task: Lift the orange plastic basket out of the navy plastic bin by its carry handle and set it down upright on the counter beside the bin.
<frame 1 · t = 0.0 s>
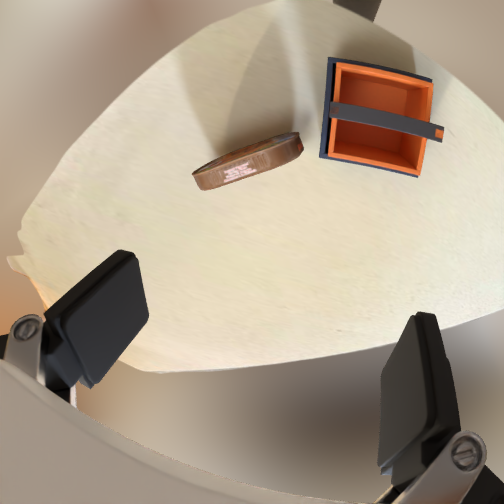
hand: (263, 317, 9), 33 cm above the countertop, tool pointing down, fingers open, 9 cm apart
basket: (371, 114, 32), resting on bin outer
tin: (256, 154, 40), on the countertop
bin outer: (370, 114, 33), on the countertop
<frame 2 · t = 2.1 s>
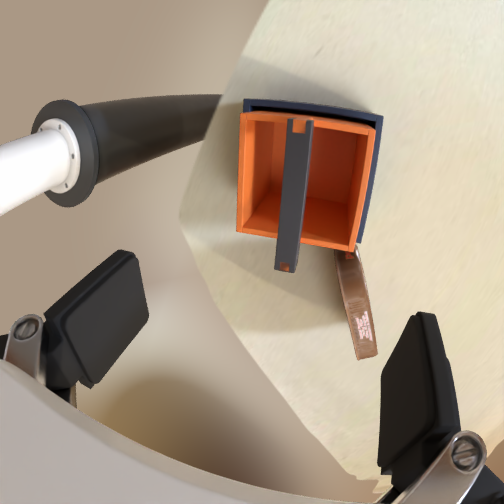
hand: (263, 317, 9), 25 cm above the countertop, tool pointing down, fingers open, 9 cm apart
basket: (312, 157, 30), resting on bin outer
tin: (358, 284, 36), on the countertop
bin outer: (313, 156, 30), on the countertop
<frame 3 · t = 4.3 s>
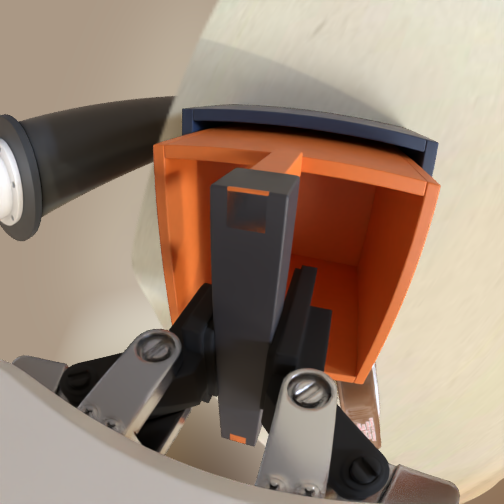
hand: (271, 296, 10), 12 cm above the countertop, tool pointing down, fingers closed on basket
basket: (308, 196, 20), resting on bin outer, touching gripper
tin: (364, 358, 26), on the countertop
bin outer: (309, 194, 20), on the countertop
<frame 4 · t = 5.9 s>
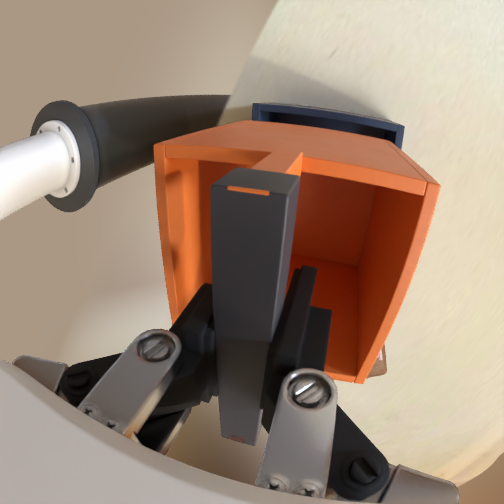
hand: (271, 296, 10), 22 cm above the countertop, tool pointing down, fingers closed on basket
basket: (309, 196, 20), point 10 cm above the countertop, touching gripper
tin: (368, 299, 34), on the countertop
bin outer: (325, 166, 28), on the countertop
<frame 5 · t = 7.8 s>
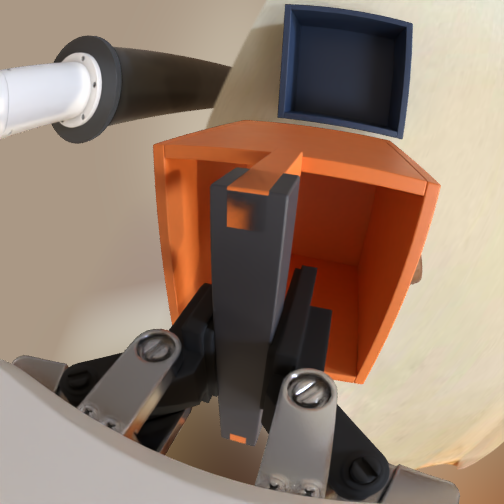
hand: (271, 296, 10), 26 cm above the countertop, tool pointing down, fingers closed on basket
basket: (308, 196, 20), point 15 cm above the countertop, touching gripper
bin outer: (345, 73, 27), on the countertop
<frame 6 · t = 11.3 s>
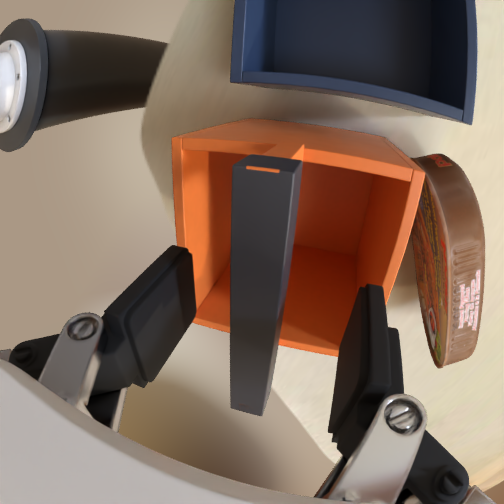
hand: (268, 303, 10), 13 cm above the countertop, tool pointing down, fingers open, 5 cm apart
basket: (309, 190, 21), on the countertop
tin: (430, 239, 20), on the countertop
bin outer: (355, 20, 14), on the countertop
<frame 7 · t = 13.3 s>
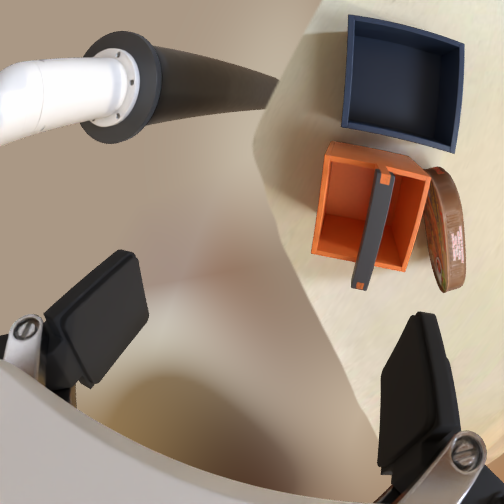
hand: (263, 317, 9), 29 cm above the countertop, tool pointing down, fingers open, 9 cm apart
basket: (364, 186, 33), on the countertop
tin: (434, 217, 32), on the countertop
bin outer: (395, 85, 26), on the countertop
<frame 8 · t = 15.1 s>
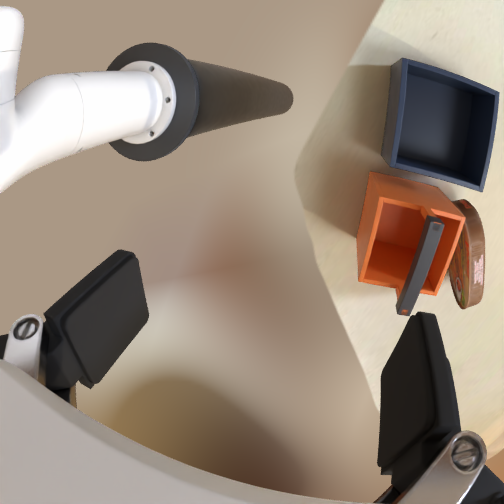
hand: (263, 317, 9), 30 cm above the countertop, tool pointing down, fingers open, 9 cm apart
basket: (397, 213, 35), on the countertop
tin: (455, 240, 34), on the countertop
bin outer: (430, 121, 28), on the countertop
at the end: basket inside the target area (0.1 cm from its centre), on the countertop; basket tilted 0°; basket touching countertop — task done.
